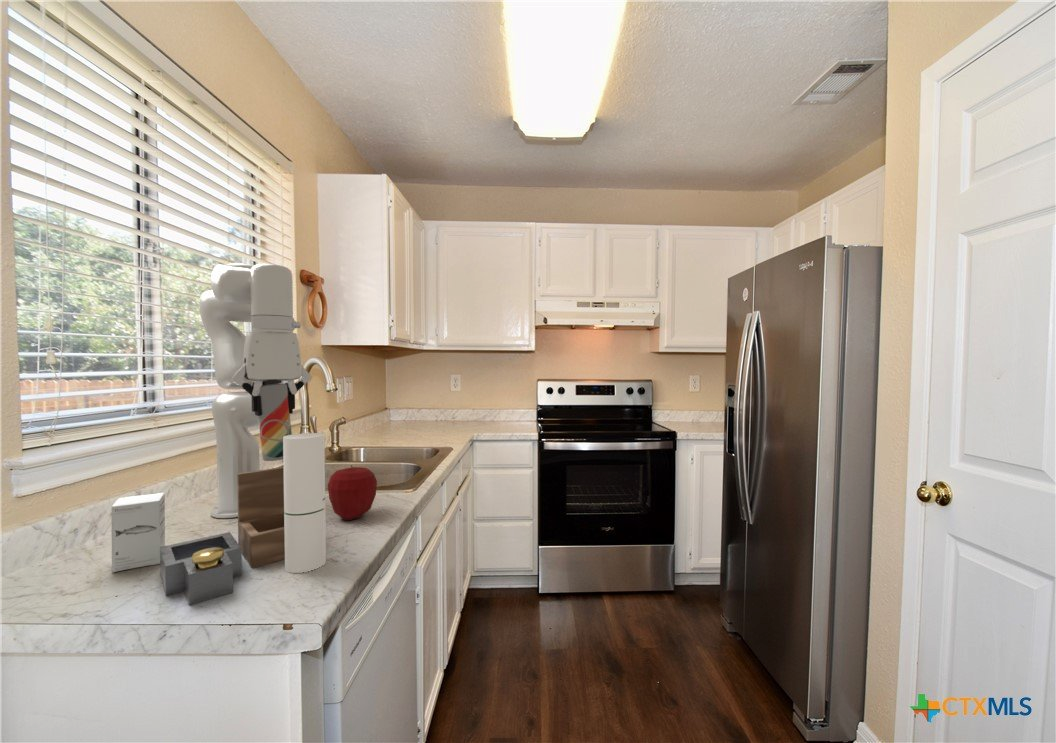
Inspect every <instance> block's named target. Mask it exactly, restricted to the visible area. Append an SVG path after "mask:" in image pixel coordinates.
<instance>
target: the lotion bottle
mask: <svg viewBox="0 0 1056 743" xmlns="http://www.w3.org/2000/svg"><path fill="white" fill-rule="evenodd" d="M280 383H282V381H279V380H276V379H271V380H267V381H263V382H262V384H263V385H262V386H261V387H260V388H259V391H260V392H259V395H258V396H261V407H262V415H261V416H258V419H259V426H258V428H259V438H260V448H261V450H260V451H261V456H262V460H263V461H264V462H274V461H275V462H277V461H281V460H282V461H283V437H284V436H287V435H293V434H292V433H293V432H292V423H291V414H290V413H289V403H288V389H287V385H286V384H280Z"/></svg>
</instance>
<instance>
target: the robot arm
mask: <svg viewBox="0 0 1056 743" xmlns="http://www.w3.org/2000/svg"><path fill="white" fill-rule="evenodd" d="M210 287H211V289H210V290H207V291H205V292H203V293H202V294H201V295H200V297H199V304H198V306H199V314H200V318H201V322H202V324H203V326H204V328H205V330H206V333H207V335H208V336H209V338H210V339H209V340H210V341H211V345H212V354H213V355H212V356H213V364H214V365H213V366H214V373H215V380H216V383H217V385H218V386H219V387H220V388H221V389H225V390H232V392H231V391H230V392H226V393H222V394H219V395H218V396H216V397H215V398H214V399H213V401H212V403H211V415H212V419H213V424H214V429H215V437H216V438H215V439H216V440H215V441H216V468H217V469H216V474H217V475H216V476H217V484H216V485H217V486H216V487H217V506H215V507H213V508H211V509H210V516H211V517H213V518H217V519H234V518H238V492H237V473H244V472H251V471H258V470H261V469H260V465H261V464H260V443H259V440H258V439H257V438H256V437H255V435H253V434H252V433H251V432H250V431H249V430H248V429H249V428H254V427H259V419H258V416H261V415H262V407H261V396H258V395H259V392H260V391H259V388H260V387H261V386H262V385H263V384H262V382H263V381H267V380H271V379H276V380H279V381H282V383H280V384H286V385H287V389H288V403H289V413H290V415H291V414H293V413H294V412H293V410H295V409H296V394H298V391H299V390H300V389H302V387H304V385H306V384H307V383H308V382H310V381H311V380H312V378H313V377H312V375H311V374H310V373H309V372H308V371H307V369H306V368H305V367H304V366H303V365H302V356H301V350H300V342H299V338H298V335H297V333H295V332H294V331H295V330H296V329H300V328H301V321H296V320H295V317H294V309H293V308H294V299H293V298H294V295H293V294H294V293H293V292H294V291H293V289H294V287H293V273H292V271H291V269H289V267H286V266H284V265H281V264H274V263H258V264H249V263H243V262H233V263H232V262H231V263H228V264H217V265H216V266H214V268H213V270H212V272H211V277H210ZM231 322H235V323H236V322H238V323H250V324H251V328H250V329H251V330H250V331H247V332H246V334H244V333H243V332H242V330H240V329H239V328H238V327H236V325H234V324H233V323H231ZM298 379H299V380H298ZM295 380H297V381H296V382H295ZM233 390H234V391H233ZM235 390H237V391H235ZM238 390H244V391H238Z"/></svg>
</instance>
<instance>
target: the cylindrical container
mask: <svg viewBox="0 0 1056 743" xmlns="http://www.w3.org/2000/svg"><path fill="white" fill-rule="evenodd" d="M325 445H326V444H325V433H322V432H321V433H319V432H305V433H304V432H303V433H294V434H292V435H287V436H284V437H283V459H282V461H283V462H282V463H283V466H282V467H284V534H285V559H284V570H285V571H286V572H287V573H290V572H291V574H302V573H303V572H304V573H309V572H312V571H311V570H313V571H315V570H314V569H316V570H318V569H320V568H322V567H323V566H324V565H326V563H327V538H326V537H327V533H326V530H327V529H326V528H327V526H326V525H327V524H326V521H327V519H326V466H325V465H326V456H325V451H326V450H325ZM322 565H323V566H322ZM321 566H322V567H321ZM319 567H320V568H319ZM317 568H318V569H317ZM308 571H309V572H308ZM304 573H303V574H304Z"/></svg>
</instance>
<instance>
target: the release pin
mask: <svg viewBox="0 0 1056 743" xmlns="http://www.w3.org/2000/svg"><path fill="white" fill-rule="evenodd" d="M223 556H224V549H223V548H219V547H215V548H208V549H204V550H200V551H198V552H196V553H194V554H193V555H192V563H194V564H198V569H202V568H206V567H210V566H214V565H218V560H219V559H221V558H222V557H223Z"/></svg>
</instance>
